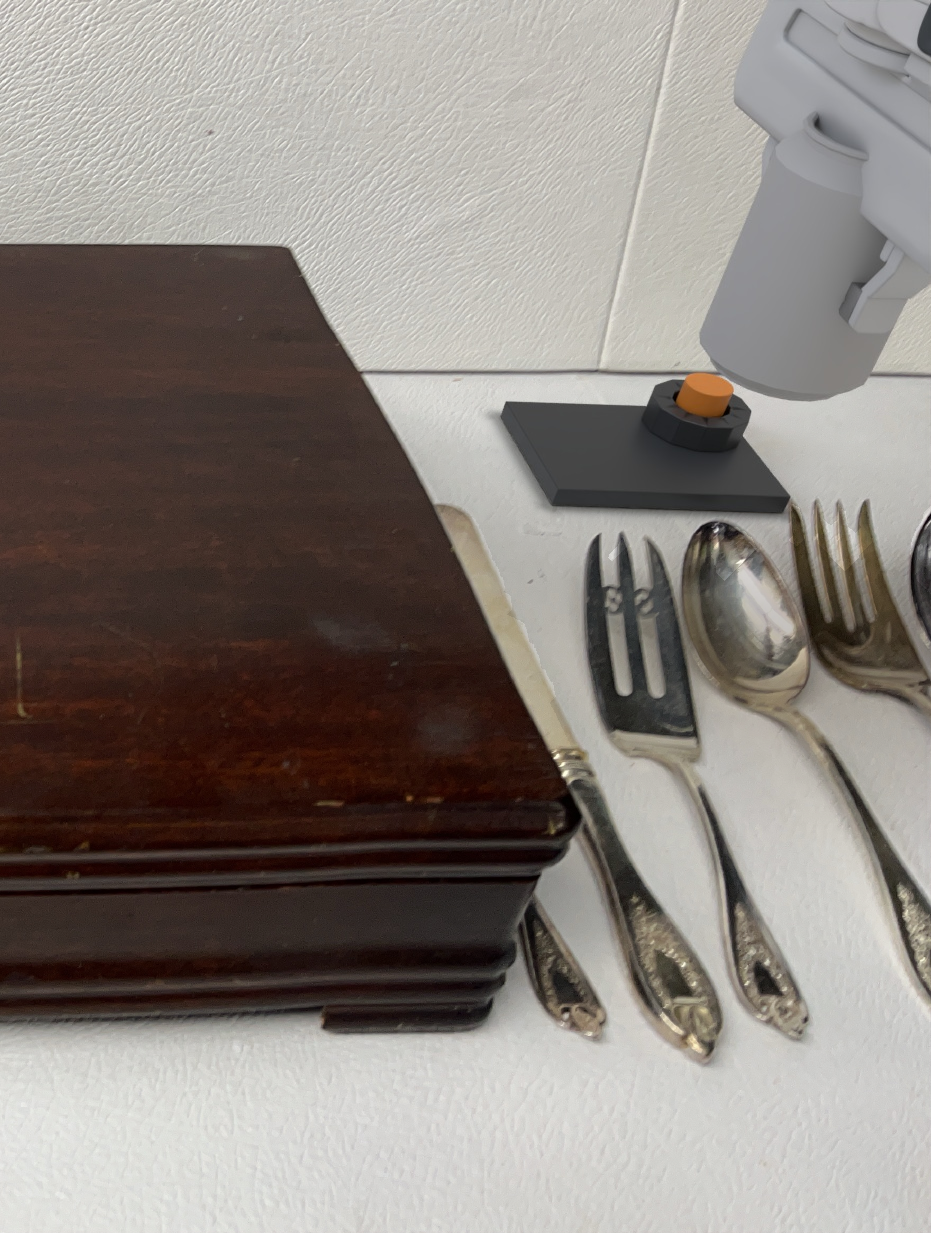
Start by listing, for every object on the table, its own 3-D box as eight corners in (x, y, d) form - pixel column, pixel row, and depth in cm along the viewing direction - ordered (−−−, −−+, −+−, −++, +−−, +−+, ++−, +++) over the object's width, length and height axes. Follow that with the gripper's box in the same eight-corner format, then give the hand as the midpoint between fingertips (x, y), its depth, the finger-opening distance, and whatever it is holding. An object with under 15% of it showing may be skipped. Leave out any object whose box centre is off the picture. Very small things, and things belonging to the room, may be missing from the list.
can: (855, 427, 72) (980, 179, 65) (680, 381, 75) (780, 138, 68) (868, 357, 77) (985, 119, 70) (704, 317, 80) (799, 84, 73)
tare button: (712, 396, 100) (722, 372, 99) (730, 420, 98) (742, 396, 97) (668, 395, 100) (678, 371, 99) (686, 419, 98) (696, 394, 97)
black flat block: (711, 420, 103) (729, 380, 101) (783, 513, 95) (804, 471, 93) (498, 413, 103) (512, 373, 101) (551, 505, 95) (567, 463, 93)
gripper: (763, -102, 73) (658, 184, 81) (1021, 60, 57) (856, 392, 66) (900, -99, 73) (780, 186, 81) (1195, 63, 57) (1007, 395, 66)
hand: (815, 280), depth 73 cm, fingers closed on can, 7 cm apart
